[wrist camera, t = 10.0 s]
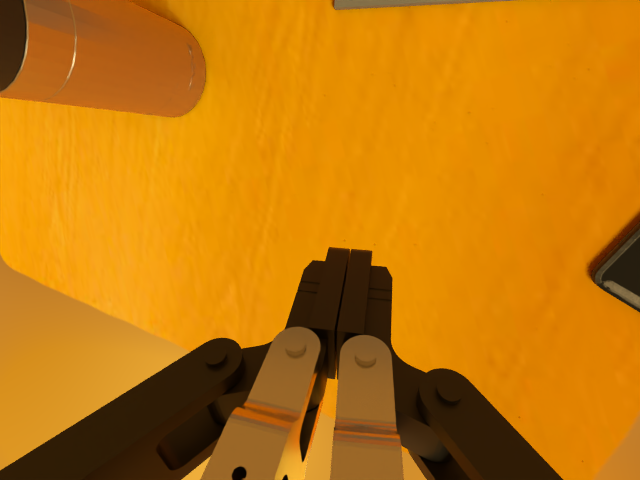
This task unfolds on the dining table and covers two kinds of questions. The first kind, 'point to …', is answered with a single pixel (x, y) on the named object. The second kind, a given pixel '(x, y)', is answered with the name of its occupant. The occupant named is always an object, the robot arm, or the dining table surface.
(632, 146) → the dining table surface
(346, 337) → the robot arm
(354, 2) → the mat
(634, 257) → the phone
